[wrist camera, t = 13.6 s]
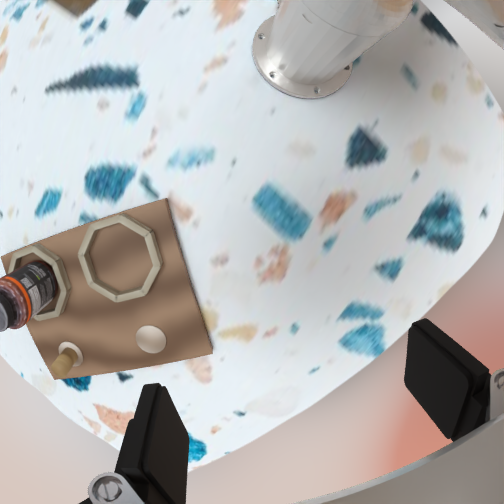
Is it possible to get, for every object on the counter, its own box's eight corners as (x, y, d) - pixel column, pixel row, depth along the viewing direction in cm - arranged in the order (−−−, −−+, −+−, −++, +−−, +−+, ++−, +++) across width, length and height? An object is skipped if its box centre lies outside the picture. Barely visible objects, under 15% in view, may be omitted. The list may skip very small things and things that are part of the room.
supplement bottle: (24, 293, 33) (-23, 327, 22) (26, 253, 32) (-26, 278, 21) (57, 308, 34) (14, 348, 23) (61, 267, 33) (13, 298, 22)
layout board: (6, 254, 33) (-18, 265, 27) (166, 198, 34) (156, 201, 29) (57, 374, 38) (42, 396, 32) (212, 347, 39) (212, 373, 33)
